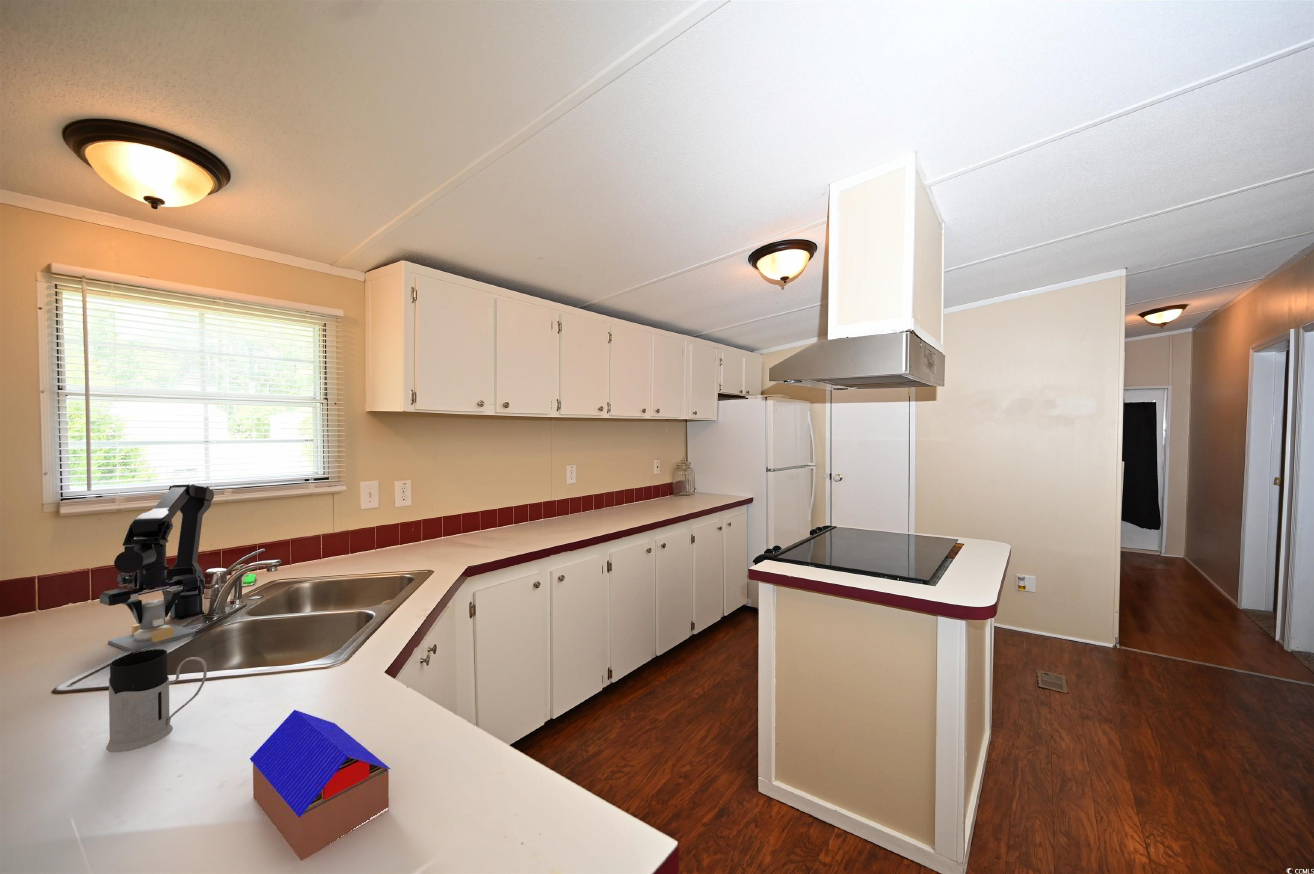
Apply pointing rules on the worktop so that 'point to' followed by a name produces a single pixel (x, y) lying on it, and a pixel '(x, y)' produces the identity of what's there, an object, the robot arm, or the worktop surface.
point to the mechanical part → (249, 579)
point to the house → (317, 782)
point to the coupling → (152, 614)
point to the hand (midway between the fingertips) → (152, 620)
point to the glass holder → (141, 699)
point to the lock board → (148, 643)
